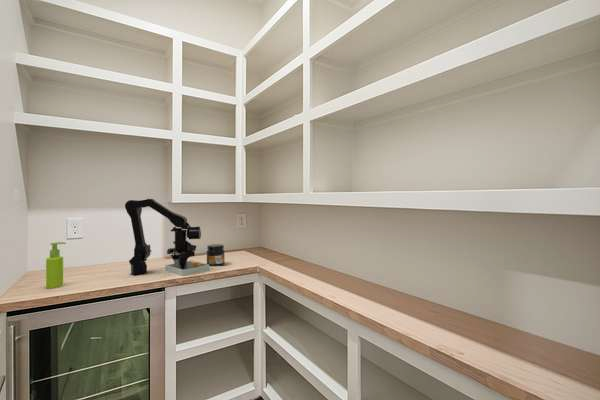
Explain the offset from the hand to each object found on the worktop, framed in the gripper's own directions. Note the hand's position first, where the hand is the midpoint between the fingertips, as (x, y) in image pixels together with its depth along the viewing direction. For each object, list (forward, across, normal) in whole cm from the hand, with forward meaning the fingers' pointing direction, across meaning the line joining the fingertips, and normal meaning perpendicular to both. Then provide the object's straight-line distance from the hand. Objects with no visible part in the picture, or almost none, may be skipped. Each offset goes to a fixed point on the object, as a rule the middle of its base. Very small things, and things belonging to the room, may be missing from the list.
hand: (180, 268), depth 152 cm
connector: (+1, 0, -1) cm, 2 cm away
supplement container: (+3, 0, -22) cm, 23 cm away
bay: (+2, 0, -4) cm, 5 cm away
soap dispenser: (+3, +22, +48) cm, 53 cm away
